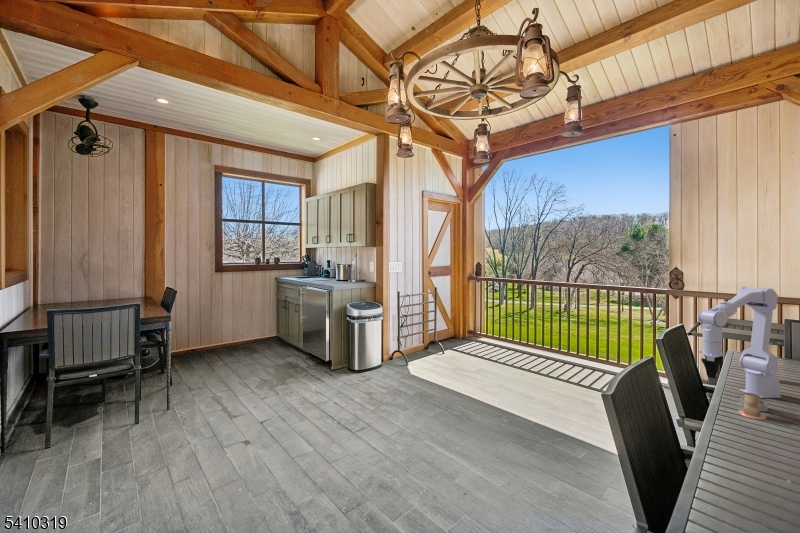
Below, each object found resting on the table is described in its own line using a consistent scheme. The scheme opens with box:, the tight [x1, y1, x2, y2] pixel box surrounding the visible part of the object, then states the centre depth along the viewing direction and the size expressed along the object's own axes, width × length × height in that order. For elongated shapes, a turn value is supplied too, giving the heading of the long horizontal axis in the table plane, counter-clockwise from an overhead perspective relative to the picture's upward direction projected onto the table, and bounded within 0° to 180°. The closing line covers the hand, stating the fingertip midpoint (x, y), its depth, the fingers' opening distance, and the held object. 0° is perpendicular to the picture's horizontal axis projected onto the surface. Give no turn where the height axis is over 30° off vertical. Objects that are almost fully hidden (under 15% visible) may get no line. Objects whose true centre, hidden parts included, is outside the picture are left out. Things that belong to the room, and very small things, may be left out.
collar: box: [739, 396, 769, 413], centre depth 128 cm, size 7×7×2 cm
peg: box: [743, 392, 761, 417], centre depth 121 cm, size 4×4×7 cm
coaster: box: [737, 409, 767, 421], centre depth 121 cm, size 7×7×1 cm
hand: (712, 375), depth 133 cm, fingers open, 7 cm apart
